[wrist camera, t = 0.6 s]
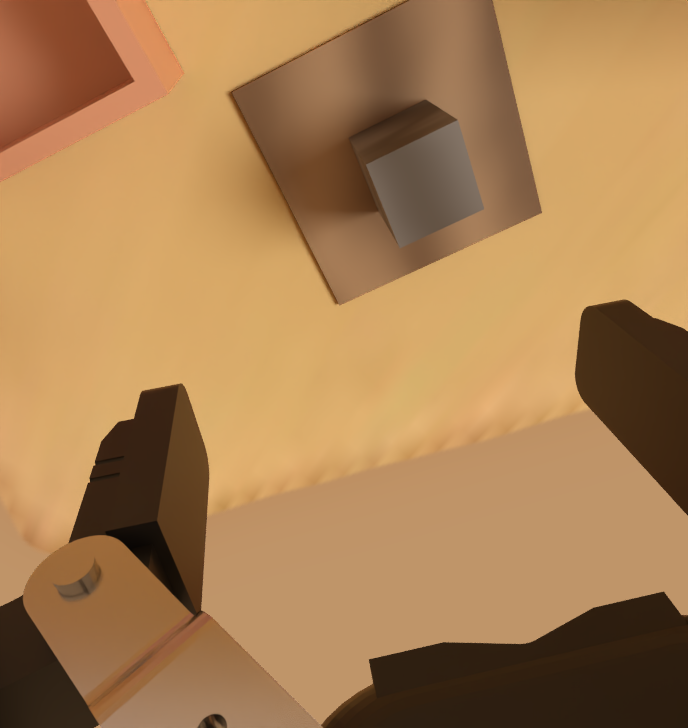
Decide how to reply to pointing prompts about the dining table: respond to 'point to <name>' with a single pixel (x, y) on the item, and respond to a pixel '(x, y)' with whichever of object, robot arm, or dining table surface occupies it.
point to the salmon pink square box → (74, 72)
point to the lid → (396, 141)
